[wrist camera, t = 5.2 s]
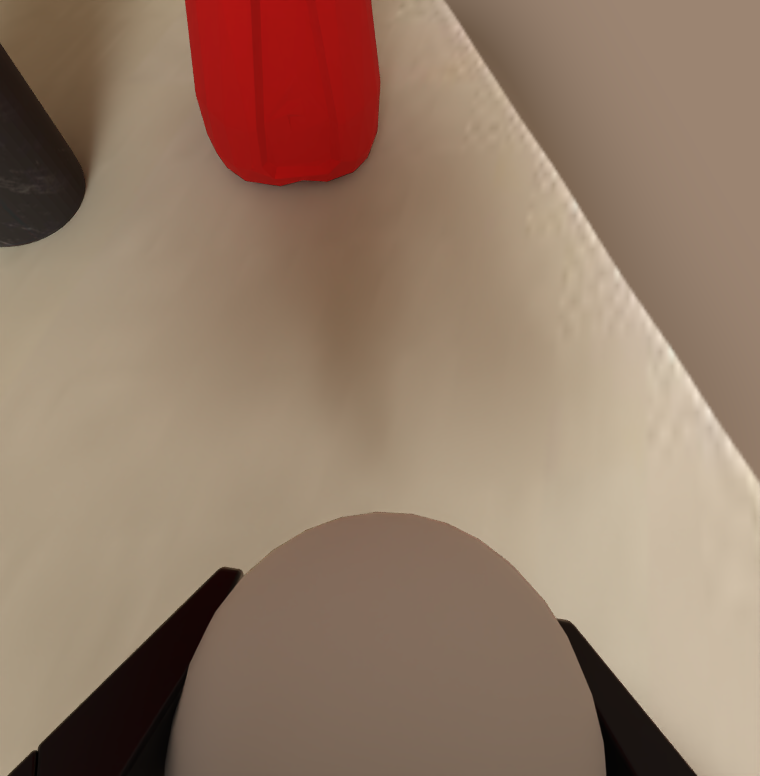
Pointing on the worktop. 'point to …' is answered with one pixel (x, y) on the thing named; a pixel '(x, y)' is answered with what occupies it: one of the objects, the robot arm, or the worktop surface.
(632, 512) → the worktop surface
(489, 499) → the worktop surface
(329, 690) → the lightbulb
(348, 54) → the water bottle
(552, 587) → the worktop surface
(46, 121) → the travel mug
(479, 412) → the worktop surface
